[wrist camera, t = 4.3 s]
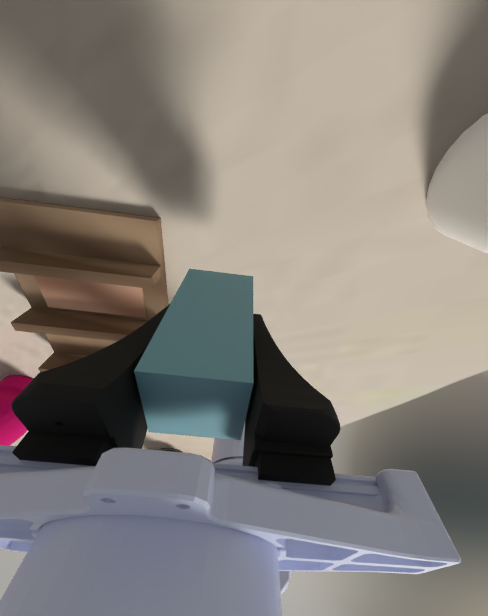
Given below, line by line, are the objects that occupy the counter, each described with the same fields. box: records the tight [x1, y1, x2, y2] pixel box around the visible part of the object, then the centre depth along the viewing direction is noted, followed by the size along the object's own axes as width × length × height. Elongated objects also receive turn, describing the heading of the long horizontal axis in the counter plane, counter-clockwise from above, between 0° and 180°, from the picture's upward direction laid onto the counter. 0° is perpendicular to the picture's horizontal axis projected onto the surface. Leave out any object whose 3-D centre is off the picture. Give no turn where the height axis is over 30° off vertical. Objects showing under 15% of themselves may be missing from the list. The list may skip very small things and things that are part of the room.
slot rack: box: [0, 198, 168, 372], centre depth 24 cm, size 22×14×4 cm, turn 173°
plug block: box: [134, 269, 254, 440], centre depth 12 cm, size 4×4×8 cm
